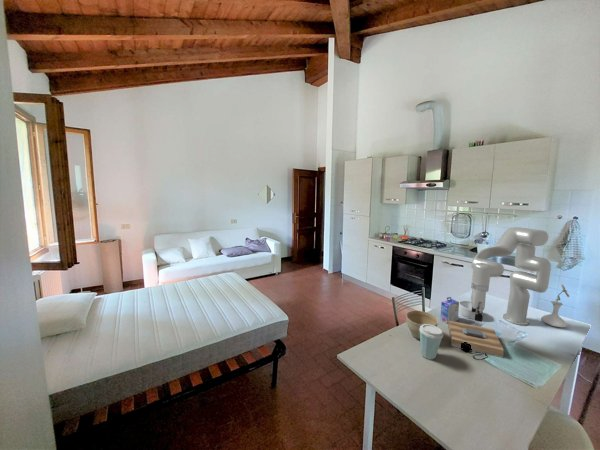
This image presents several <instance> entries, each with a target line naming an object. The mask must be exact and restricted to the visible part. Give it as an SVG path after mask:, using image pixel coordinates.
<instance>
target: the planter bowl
mask: <svg viewBox="0 0 600 450" xmlns="http://www.w3.org/2000/svg"><path fill="white" fill-rule="evenodd" d="M405 317H406V325H407V328H408V330H409V332H410V333H411V336H412V337H413V338H415V339H417V340H420V331H419V329H420V326H421V325H423V324H430V325H434V326H436V327H438V325H439V319H438V318H437V317H436V315H435V316H434V315H433V314H432V313H429V312H427V311H424V310H423V311H422V310H410V311H407V313H406V314H405Z"/></svg>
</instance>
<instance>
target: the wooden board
mask: <svg viewBox="0 0 600 450" xmlns="http://www.w3.org/2000/svg"><path fill="white" fill-rule="evenodd" d="M447 324H448V325H447V328H448V334H449V340H450V345H451V347H454V348H455V347H456V348H460V349H462V348H461V343H464V342H467V343H468V344H470V345H471V349H472V350H471V351H473V352H475V353H476V352H477V353H481V354H485V353H486V355H489V354H490V356H495V357H499V358H501V359H502V358H504V352H505V351H504V347H503V345H502V344H501V342H500V340H499V337H498V335H497V333H496V331H495V329H493V328H488V327H483V326H478V325H473V324H469V323H463V322H458V321H454V322H453V321H449V323H447ZM462 328H464V329H466V328H470V329H475V330H480V331H481V332H484V333H485V335H486V337H487V338H486V339H484V338H482V339H481V338H476V337H471V336H467V335H465V334H463V331H462Z"/></svg>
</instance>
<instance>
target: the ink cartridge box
mask: <svg viewBox="0 0 600 450" xmlns="http://www.w3.org/2000/svg"><path fill="white" fill-rule="evenodd" d="M459 302H460V301H458V300H456V299H453V298H452V297H451V296H448V297H446V300H445V301H444V300H443V301H441V302H440V303H441V305H440V306H441V308H440V318H439V319H440V321H442V322H444V323H445V324H449V321H453V322H458V321H459V312H460V311H459Z"/></svg>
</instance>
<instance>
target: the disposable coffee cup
mask: <svg viewBox="0 0 600 450" xmlns="http://www.w3.org/2000/svg"><path fill="white" fill-rule="evenodd" d="M419 331H420V339H419V342H420V343H419V344H420V345H419V346H420V354H421V356H422V357H424V358H425V359H427V360H434V359H436V356H437V355H438V351H439V348H440V345H441V342H442V338H443V337H444V332H443V330H442V329H441V328H440V327H438V326H437V327H436V326H434V325H430V324H423V325H421V326H420V329H419Z"/></svg>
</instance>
